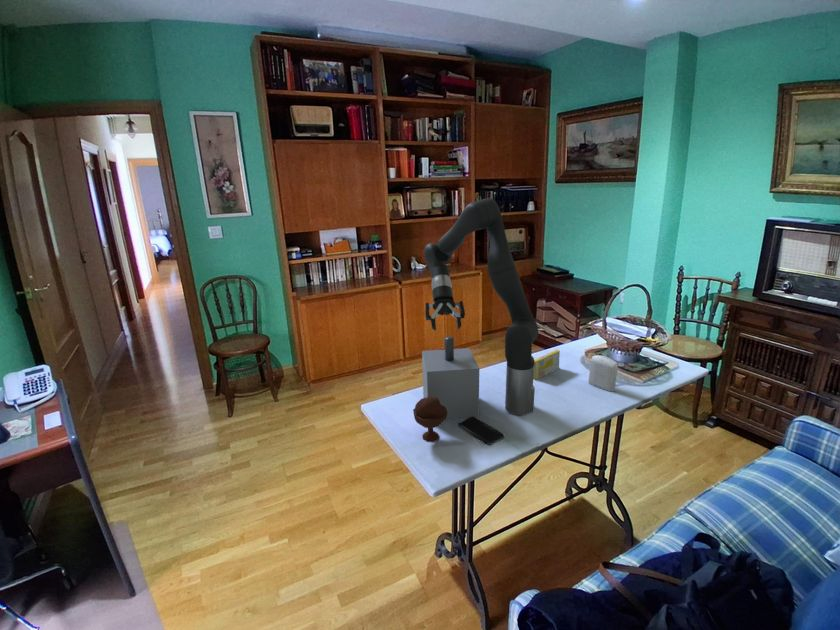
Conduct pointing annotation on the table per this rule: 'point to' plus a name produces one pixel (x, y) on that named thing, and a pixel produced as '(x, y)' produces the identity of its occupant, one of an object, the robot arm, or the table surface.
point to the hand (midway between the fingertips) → (446, 329)
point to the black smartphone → (481, 430)
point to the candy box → (546, 364)
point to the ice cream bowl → (430, 416)
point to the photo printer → (603, 372)
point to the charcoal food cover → (452, 380)
